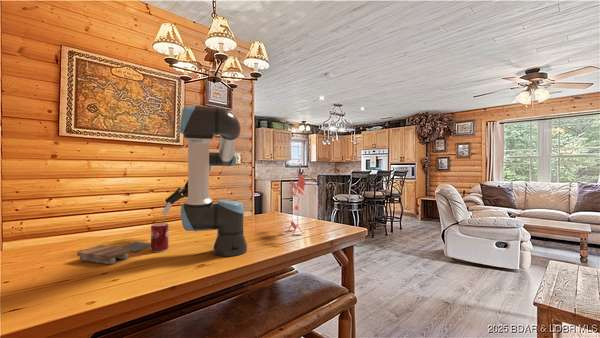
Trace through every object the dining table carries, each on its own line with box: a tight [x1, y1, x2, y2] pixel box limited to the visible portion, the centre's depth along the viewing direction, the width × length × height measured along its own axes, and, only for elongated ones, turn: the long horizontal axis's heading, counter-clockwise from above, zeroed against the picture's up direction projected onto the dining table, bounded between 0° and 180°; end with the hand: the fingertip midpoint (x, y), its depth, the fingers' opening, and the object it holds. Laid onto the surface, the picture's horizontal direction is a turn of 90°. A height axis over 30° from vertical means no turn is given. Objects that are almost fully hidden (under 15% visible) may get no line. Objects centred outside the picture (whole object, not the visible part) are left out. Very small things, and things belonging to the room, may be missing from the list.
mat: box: [120, 241, 151, 253], centre depth 129 cm, size 12×12×1 cm
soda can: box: [150, 222, 170, 253], centre depth 125 cm, size 7×7×12 cm
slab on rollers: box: [76, 244, 131, 265], centre depth 112 cm, size 16×10×4 cm, turn 75°
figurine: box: [287, 173, 307, 235], centre depth 161 cm, size 15×26×35 cm, turn 19°
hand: (174, 214), depth 135 cm, fingers open, 13 cm apart
